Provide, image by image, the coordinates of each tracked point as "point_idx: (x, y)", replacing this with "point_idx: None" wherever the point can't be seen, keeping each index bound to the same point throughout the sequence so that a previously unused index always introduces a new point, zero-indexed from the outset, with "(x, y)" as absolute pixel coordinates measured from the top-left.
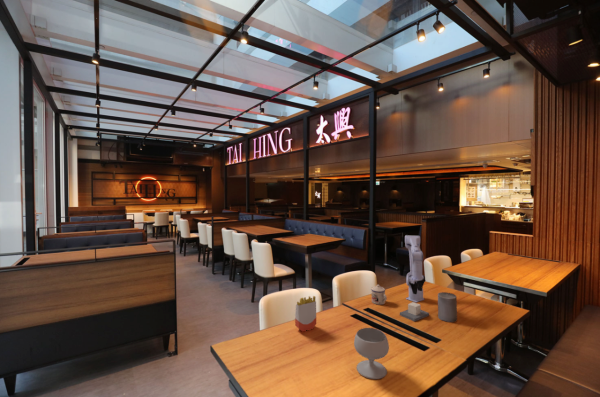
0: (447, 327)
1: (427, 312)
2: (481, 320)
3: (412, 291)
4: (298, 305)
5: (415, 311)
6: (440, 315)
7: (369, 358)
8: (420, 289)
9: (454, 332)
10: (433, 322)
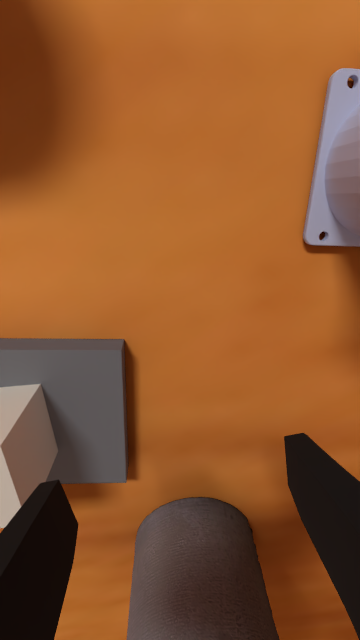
0: (74, 589)
1: (122, 471)
2: (325, 618)
3: (14, 515)
4: None
5: None
6: (135, 560)
7: None
8: (300, 498)
9: None
10: None
